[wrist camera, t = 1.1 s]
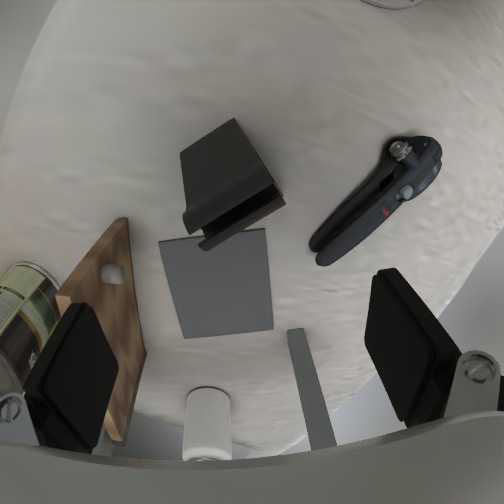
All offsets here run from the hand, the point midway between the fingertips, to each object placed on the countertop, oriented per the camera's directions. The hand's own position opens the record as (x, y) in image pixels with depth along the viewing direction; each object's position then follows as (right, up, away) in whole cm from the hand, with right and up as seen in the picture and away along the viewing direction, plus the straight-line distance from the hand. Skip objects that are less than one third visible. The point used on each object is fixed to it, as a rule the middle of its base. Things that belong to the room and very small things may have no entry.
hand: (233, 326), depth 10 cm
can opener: (+13, +9, +22) cm, 27 cm away
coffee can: (-28, -3, +25) cm, 37 cm away
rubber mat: (-3, -2, +25) cm, 26 cm away
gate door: (-13, -3, +25) cm, 28 cm away
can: (-6, -19, +34) cm, 40 cm away
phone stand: (-1, +10, +20) cm, 22 cm away
